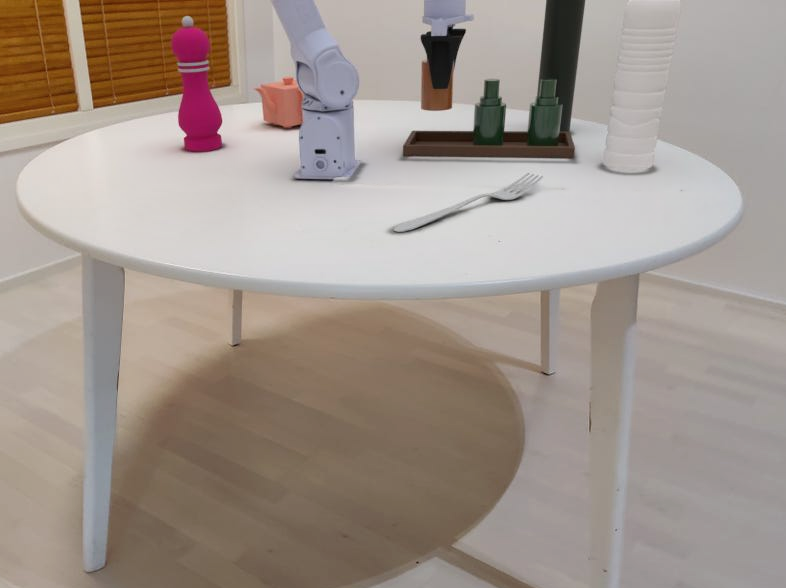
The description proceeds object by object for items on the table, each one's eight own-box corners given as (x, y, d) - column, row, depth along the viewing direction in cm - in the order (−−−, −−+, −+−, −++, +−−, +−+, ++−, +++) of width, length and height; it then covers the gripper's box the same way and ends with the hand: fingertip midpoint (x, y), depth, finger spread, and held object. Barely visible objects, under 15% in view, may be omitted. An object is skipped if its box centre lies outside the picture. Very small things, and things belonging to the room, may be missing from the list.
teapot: (241, 125, 134) (236, 78, 130) (307, 114, 141) (305, 69, 137) (272, 135, 125) (268, 85, 121) (341, 122, 132) (340, 75, 128)
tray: (573, 162, 101) (574, 147, 100) (403, 159, 107) (403, 145, 106) (568, 145, 110) (570, 131, 109) (411, 143, 116) (412, 130, 114)
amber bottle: (449, 111, 102) (452, 36, 97) (418, 110, 103) (419, 36, 98) (454, 105, 106) (457, 32, 101) (423, 105, 107) (425, 33, 102)
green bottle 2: (558, 152, 104) (566, 81, 99) (526, 152, 105) (532, 81, 100) (556, 145, 108) (564, 76, 103) (525, 145, 109) (531, 77, 104)
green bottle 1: (502, 152, 106) (508, 82, 101) (471, 151, 107) (475, 82, 102) (503, 145, 110) (508, 77, 105) (473, 144, 111) (476, 77, 106)
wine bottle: (564, 128, 121) (588, -78, 106) (573, 136, 116) (599, -79, 101) (530, 129, 121) (549, -76, 106) (537, 137, 116) (559, -78, 101)
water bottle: (631, 176, 94) (668, -39, 82) (591, 167, 99) (620, -38, 86) (671, 165, 98) (712, -42, 86) (631, 156, 103) (664, -41, 90)
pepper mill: (229, 142, 122) (215, 13, 112) (219, 152, 116) (203, 16, 106) (188, 142, 123) (171, 15, 113) (176, 152, 116) (156, 18, 107)
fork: (385, 228, 80) (385, 213, 79) (524, 185, 92) (526, 171, 92) (405, 235, 78) (405, 219, 77) (545, 190, 90) (546, 176, 89)
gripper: (472, -20, 89) (466, 94, 96) (478, -23, 101) (473, 77, 108) (416, -18, 91) (414, 94, 97) (429, -22, 103) (427, 78, 110)
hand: (442, 85), depth 103 cm, fingers closed on amber bottle, 4 cm apart
